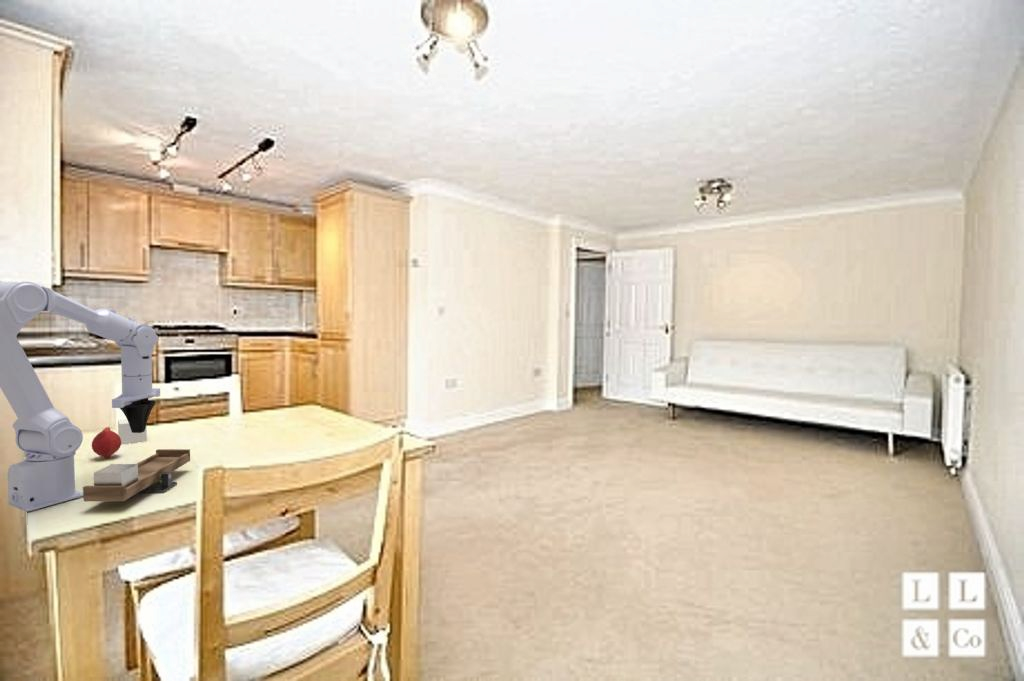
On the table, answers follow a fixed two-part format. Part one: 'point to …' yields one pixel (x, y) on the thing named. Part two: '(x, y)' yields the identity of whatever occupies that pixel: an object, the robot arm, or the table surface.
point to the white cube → (129, 433)
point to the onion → (106, 443)
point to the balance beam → (140, 476)
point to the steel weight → (116, 475)
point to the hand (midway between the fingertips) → (138, 432)
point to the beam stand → (161, 484)
